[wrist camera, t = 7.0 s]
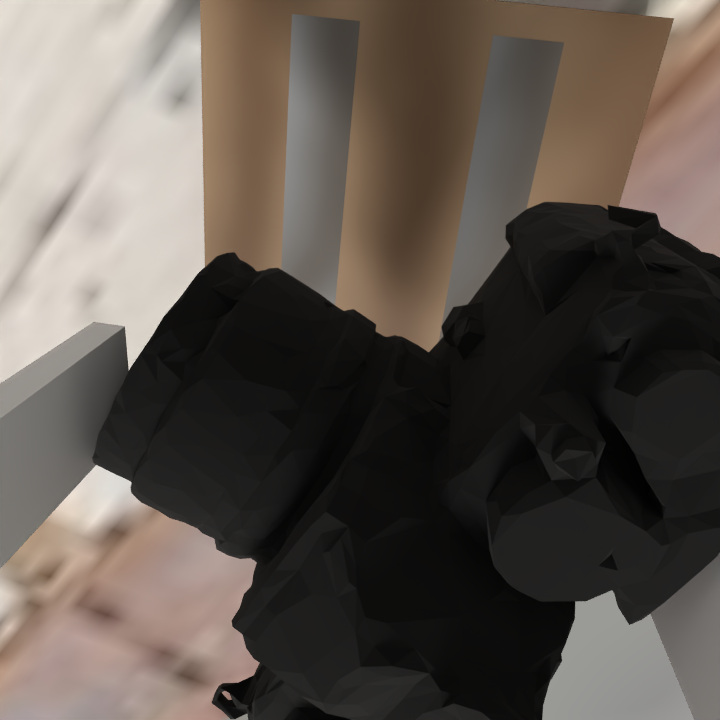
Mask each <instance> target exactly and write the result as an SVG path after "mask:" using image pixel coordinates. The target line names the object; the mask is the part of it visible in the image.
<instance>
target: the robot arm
mask: <svg viewBox="0 0 720 720" xmlns="http://www.w3.org/2000/svg"><path fill="white" fill-rule="evenodd" d="M128 372H129V371H128V359H127V347H126V336H125V326H118V325H111V324H104V323H97V322H93V323H92V324H90V325H89V326H87V327H86V328H84V329H83V330H81V331H80V332H78V333H76V334H75V335H73V336H72V337H70V338H69V339H67V340H66V341H64V342H63V343H61V344H60V345H58V346H57V347H55V348H54V349H52V350H51V351H49V352H48V353H46V354H45V355H43V356H42V357H40V358H39V359H37V360H36V361H34V362H33V363H31V364H29V365H28V366H26V367H25V368H23V369H22V370H20V371H19V372H17V373H16V374H14V375H13V376H11V377H10V378H8V379H7V380H5V381H4V382H2V383H1V384H0V568H1V567H2V566H3V565H4V564H5V563H6V562H7V561H8V560H9V559H10V558H11V557H12V555H13V554H14V553H15V552H16V551H17V550H18V549H19V548H20V547H21V546H22V545H23V544H24V542H25V541H26V540H27V539H28V538H29V537H30V536H31V535H32V534H33V533H34V532H35V531H36V529H37V528H38V527H39V526H40V525H41V524H42V523H43V522H44V521H45V520H46V519H47V518H48V516H49V515H50V514H51V513H52V512H53V511H54V510H55V509H56V508H57V507H58V506H59V504H60V503H61V502H62V501H63V500H64V499H65V498H66V497H67V496H68V495H69V494H70V493H71V491H72V490H73V489H74V488H75V487H76V486H77V485H78V484H79V483H80V482H81V481H82V480H83V478H84V477H85V476H86V475H87V474H88V473H89V472H90V471H91V470H92V469H93V468H94V467H95V465H96V464H94V463H93V459H92V457H93V455H94V452H95V447H96V442H97V438H98V434H99V432H100V430H101V428H102V426H103V424H104V422H105V420H106V418H107V416H108V414H109V412H110V410H111V407H112V405H113V402H114V400H115V397H116V395H117V393H118V392H119V390H120V388H121V386H122V384H123V382H124V380H125V378H126V376H127V374H128ZM650 614H651V616H652V619H653V621H654V623H655V625H656V628H657V630H658V633H659V635H660V638H661V640H662V643H663V645H664V648H665V650H666V652H667V655H668V657H669V660H670V662H671V664H672V667H673V669H674V672H675V674H676V676H677V679H678V681H679V684H680V686H681V689H682V691H683V693H684V696H685V698H686V701H687V703H688V705H689V708H690V710H691V713H692V715H693V717H694V720H720V553H719V555H718V556H717V557H716V558H715V559H714V560H713V561H712V562H710V563H709V564H708V565H707V566H706V567H705V568H704V569H703V570H701V571H700V572H699V573H698V574H697V575H696V576H695V577H693V578H692V579H691V580H690V581H689V582H688V583H687V584H685V585H684V586H683V587H682V588H681V589H680V590H678V591H677V592H676V593H675V594H674V595H673V596H671V597H670V598H669V599H668V600H667V601H666V602H665V603H663V604H662V605H661V606H659V607H658V608H657V609H655V610H654V611H653V612H651V613H650Z"/></svg>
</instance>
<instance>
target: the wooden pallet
mask: <svg viewBox="0 0 720 720" xmlns="http://www.w3.org/2000/svg"><path fill="white" fill-rule="evenodd" d="M200 8H201V64H202V121H203V177H204V233H205V267H206V266H207V265H208V264H209V263H210V262H211V261H212V260H213V259H214V258H215V257H216V256H219V255H222V254H225V253H231V252H235V253H236V255H237V256H238V258H239V259H240V260H242V261H244V262H246V263H248V264H249V265H250V266H252V267H253V268H254V269H255V270H256V271H262V270H266V269H268V268H279V269H281V270H283V271H284V272H286V273H288V274H289V275H291V276H293V277H294V278H296V279H297V280H299V281H301V282H302V283H304V284H305V285H307V286H308V287H310V288H311V289H313V290H315V291H316V292H318V293H319V294H321V295H322V296H323V297H325V298H326V299H327V300H329V301H330V302H331V303H333V304H334V305H335V306H337V307H338V308H340V309H341V310H343V311H346V310H351V309H354V310H356V311H357V312H359V313H360V314H362V315H363V316H365V317H366V318H368V319H369V320H371V321H372V322H374V323H375V324H376V332H378V333H379V334H381V335H383V336H385V337H389V336H393V335H396V336H402V337H404V338H406V339H407V340H409V341H411V342H413V343H415V344H417V345H419V346H420V347H422V348H423V349H425V350H426V351H428V352H430V350H431V349H432V348H433V347H434V346H435V345H436V344H437V343H438V342H439V341H440V340H441V339H442V337H443V333H442V328H441V326H442V325H443V323H444V321H445V320H446V318H447V317H448V315H449V313H450V312H451V310H452V308H453V307H456V306H462V305H467V304H468V303H469V302H470V301H471V299H472V298H473V297H474V295H475V294H476V293H477V291H478V290H479V289H480V287H481V286H482V285H483V283H484V282H485V281H486V279H487V278H488V277H489V275H490V274H491V273H492V271H493V270H494V268H495V267H496V266H497V264H498V263H499V262H500V260H501V259H502V258H503V256H504V255H505V254H506V252H507V251H508V249H509V248H510V245H509V244H508V242H507V240H506V238H505V234H506V225H507V224H508V223H509V222H510V221H512V220H513V219H514V218H516V217H517V216H518V215H519V214H521V213H522V212H523V211H525V210H526V209H528V208H531V207H533V206H535V205H538V204H540V203H543V202H566V203H577V204H591V205H600V206H602V207H604V208H606V209H607V210H608V205H611V206H617V207H618V206H619V203H620V199H621V196H622V193H623V189H624V186H625V183H626V179H627V176H628V172H629V169H630V166H631V162H632V159H633V155H634V152H635V149H636V145H637V142H638V139H639V135H640V132H641V128H642V125H643V122H644V118H645V115H646V111H647V108H648V105H649V101H650V98H651V95H652V91H653V88H654V84H655V81H656V78H657V74H658V71H659V67H660V64H661V61H662V57H663V54H664V50H665V47H666V44H667V40H668V37H669V34H670V30H671V27H672V23H673V20H674V19H673V18H663V17H653V16H643V15H633V14H624V13H614V12H604V11H594V10H584V9H574V8H565V7H555V6H545V5H535V4H525V3H516V2H506V1H496V0H200Z"/></svg>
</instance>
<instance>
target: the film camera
mask: <svg viewBox="0 0 720 720" xmlns="http://www.w3.org/2000/svg"><path fill="white" fill-rule="evenodd" d="M505 238H506V240H507V242H508V244H509V245H510V248H509V249H508V251H507V252H506V254H505V255H504V256H503V258H502V259H501V260H500V262H499V263H498V264H497V266H496V267H495V268H494V270H493V271H492V273H491V274H490V275H489V277H488V278H487V279H486V281H485V282H484V283H483V285H482V286H481V287H480V289H479V290H478V291H477V293H476V294H475V295H474V297H473V298H472V299H471V301H470V302H469V303H468V304H467V305H462V306H456V307H453V308H452V310H451V312H450V313H449V315H448V317H447V318H446V320H445V321H444V323H443V325H442V326H441V328H442V333H443V337H442V339H441V340H440V341H439V342H438V343H437V344H436V345H435V346H434V347H433V348H432V349H431V350H430V352H428V351H426V350H425V349H423V348H422V347H420V346H419V345H417V344H415V343H413V342H411V341H409V340H407V339H406V338H404V337H402V336H396V335H393V336H389V337H385V336H383V335H381V334H379V333H378V332H376V324H375V323H374V322H372V321H371V320H369V319H368V318H366V317H365V316H363V315H362V314H360V313H359V312H357V311H356V310H354V309H351V310H346V311H343V310H341V309H340V308H338V307H337V306H335V305H334V304H333V303H331V302H330V301H329V300H327V299H326V298H325V297H323V296H322V295H321V294H319V293H318V292H316V291H315V290H313V289H311V288H310V287H308V286H307V285H305V284H304V283H302V282H301V281H299V280H297V279H296V278H294V277H293V276H291V275H289V274H288V273H286V272H284V271H283V270H281V269H279V268H268V269H266V270H262V271H256V270H255V269H254V268H253V267H252V266H250V265H249V264H248V263H246V262H244V261H242V260H240V259H239V258H238V256H237V255H236V253H235V252H231V253H225V254H222V255H219V256H216V257H215V258H214V259H213V260H212V261H211V262H210V263H209V264H208V265H207V266H206V267H205V268H203V269H202V270H201V271H200V272H199V273H198V274H197V276H196V277H195V278H194V280H193V281H192V282H191V284H190V285H189V286H188V288H187V289H186V290H185V292H184V293H183V295H182V296H181V297H180V298H179V300H178V301H177V302H176V303H175V304H174V305H173V307H172V308H171V309H170V310H169V311H168V313H167V314H166V315H165V316H164V317H163V319H162V321H161V322H160V324H159V326H158V327H157V329H156V331H155V332H154V334H153V336H152V337H151V339H150V340H149V342H148V343H147V345H146V346H145V347H144V349H143V350H142V352H141V353H140V355H139V356H138V358H137V359H136V361H135V362H134V364H133V365H132V367H131V368H130V370H129V372H128V374H127V376H126V378H125V380H124V382H123V384H122V386H121V388H120V390H119V392H118V393H117V395H116V397H115V400H114V402H113V405H112V407H111V410H110V412H109V414H108V416H107V418H106V420H105V422H104V424H103V426H102V428H101V430H100V432H99V434H98V438H97V442H96V447H95V452H94V455H93V457H92V459H93V463H94V464H96V465H98V466H100V467H102V468H104V469H106V470H108V471H110V472H112V473H114V474H116V475H118V476H121V477H123V478H125V479H127V480H129V481H131V482H132V485H131V492H132V494H133V495H134V496H135V497H136V498H137V499H138V500H139V501H140V502H142V503H144V504H146V505H148V506H150V507H152V508H154V509H156V510H158V511H160V512H161V513H163V514H164V515H166V516H167V517H169V518H172V519H175V520H178V521H182V522H184V523H187V524H189V525H191V526H194V527H196V528H198V529H199V530H200V531H201V532H202V533H203V534H206V535H208V536H210V537H212V538H214V539H215V543H216V548H217V550H219V551H221V552H223V553H225V554H227V555H229V556H232V557H236V558H239V559H243V558H252V559H253V560H254V561H256V562H257V564H256V568H255V571H254V574H253V582H252V586H251V587H250V588H249V589H248V590H247V592H246V593H245V594H244V596H243V599H242V603H241V606H240V608H239V610H238V612H237V613H236V615H235V616H234V618H233V620H232V626H233V627H234V628H235V629H236V630H238V631H239V632H240V633H242V634H243V637H244V641H245V645H246V648H247V650H248V651H249V652H250V654H251V655H252V657H253V658H254V659H255V660H257V661H258V662H260V664H259V666H258V668H257V670H256V672H255V674H254V676H252V677H250V678H248V679H245V680H243V681H241V682H239V683H223V684H221V685H220V686H219V687H218V689H217V690H216V692H215V695H214V698H213V701H212V704H214V705H215V706H216V707H218V708H219V709H221V710H222V711H223V712H224V713H225V714H226V715H227V716H228V717H229V718H230V719H236V718H238V717H240V716H242V715H244V714H248V720H542V713H543V703H544V700H545V696H546V693H547V689H548V686H549V682H550V680H551V679H552V677H553V675H554V674H555V672H556V670H557V669H558V667H559V665H560V663H561V662H562V658H561V653H562V650H563V648H564V646H565V643H566V640H567V638H568V635H569V633H570V630H571V627H572V624H573V622H574V619H575V601H588V600H590V599H592V598H594V597H597V596H599V595H601V594H604V593H606V592H608V591H611V590H613V592H614V594H615V597H616V601H617V605H618V607H619V609H620V611H621V612H622V614H623V615H624V617H625V618H626V620H627V622H628V623H629V625H630V624H633V623H635V622H637V621H639V620H642V619H643V618H645V617H646V616H647V615H649V614H650V613H651V612H653V611H654V610H655V609H657V608H658V607H659V606H661V605H662V604H663V603H665V602H666V601H667V600H668V599H669V598H670V597H671V596H673V595H674V594H675V593H676V592H677V591H678V590H680V589H681V588H682V587H683V586H684V585H685V584H687V583H688V582H689V581H690V580H691V579H692V578H693V577H695V576H696V575H697V574H698V573H699V572H700V571H701V570H703V569H704V568H705V567H706V566H707V565H708V564H709V563H710V562H712V561H713V560H714V559H715V558H716V557H717V556H718V555H719V553H720V258H719V257H717V256H716V255H714V254H710V253H705V252H701V251H700V250H699V249H698V248H696V247H695V246H693V245H692V244H690V243H689V242H687V241H685V240H683V239H680V238H678V237H676V236H674V235H673V234H671V233H670V232H668V231H667V230H665V229H663V228H661V226H660V223H659V220H658V217H657V214H656V213H651V212H645V211H639V210H634V209H628V208H622V207H617V206H611V205H608V210H607V209H606V208H604V207H602V206H600V205H591V204H577V203H566V202H543V203H540V204H538V205H535V206H533V207H531V208H528V209H526V210H525V211H523V212H522V213H521V214H519V215H518V216H517V217H516V218H514V219H513V220H512V221H510V222H509V223H508V224H507V225H506V234H505ZM223 691H227V692H229V693H230V695H231V698H232V700H228V699H227V698H226V697H225V696H224V695H223V694H222V692H223Z"/></svg>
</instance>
